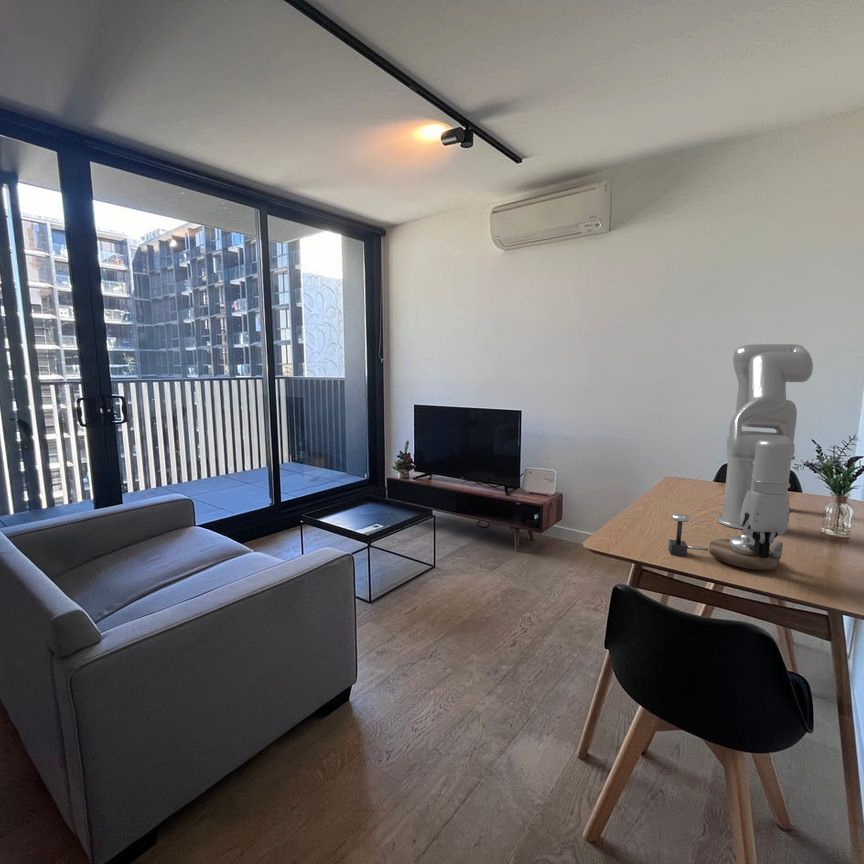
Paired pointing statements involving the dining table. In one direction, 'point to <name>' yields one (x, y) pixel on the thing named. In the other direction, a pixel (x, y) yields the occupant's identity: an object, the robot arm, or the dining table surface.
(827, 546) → the dining table surface
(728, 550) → the turntable
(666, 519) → the dining table surface
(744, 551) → the lid
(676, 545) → the lever with ball knob
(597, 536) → the dining table surface
